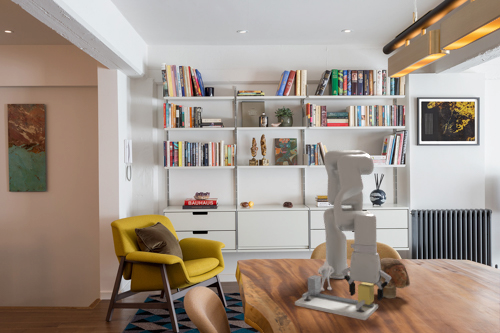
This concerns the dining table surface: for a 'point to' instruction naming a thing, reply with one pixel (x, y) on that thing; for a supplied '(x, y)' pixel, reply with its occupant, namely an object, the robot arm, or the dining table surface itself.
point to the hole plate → (336, 307)
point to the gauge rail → (315, 290)
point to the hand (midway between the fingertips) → (366, 297)
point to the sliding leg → (365, 294)
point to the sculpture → (393, 276)
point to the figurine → (325, 274)
